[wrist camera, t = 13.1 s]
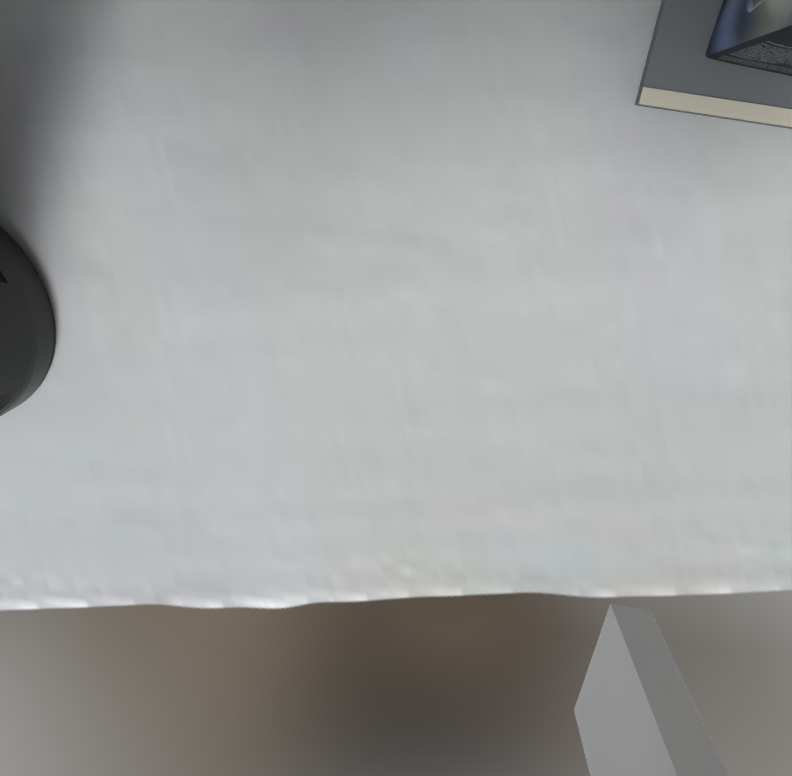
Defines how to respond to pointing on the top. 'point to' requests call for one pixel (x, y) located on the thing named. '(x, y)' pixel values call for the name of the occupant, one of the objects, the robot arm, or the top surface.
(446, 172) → the top surface
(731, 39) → the small box
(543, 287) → the top surface
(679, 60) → the mat
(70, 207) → the top surface
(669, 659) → the robot arm
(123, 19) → the top surface
